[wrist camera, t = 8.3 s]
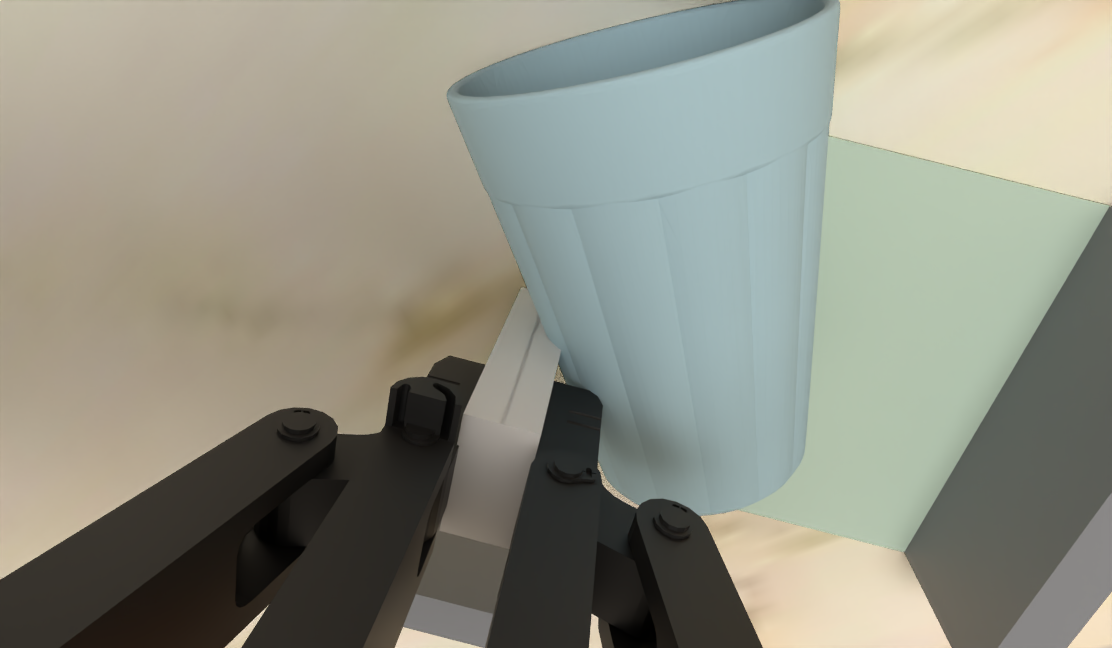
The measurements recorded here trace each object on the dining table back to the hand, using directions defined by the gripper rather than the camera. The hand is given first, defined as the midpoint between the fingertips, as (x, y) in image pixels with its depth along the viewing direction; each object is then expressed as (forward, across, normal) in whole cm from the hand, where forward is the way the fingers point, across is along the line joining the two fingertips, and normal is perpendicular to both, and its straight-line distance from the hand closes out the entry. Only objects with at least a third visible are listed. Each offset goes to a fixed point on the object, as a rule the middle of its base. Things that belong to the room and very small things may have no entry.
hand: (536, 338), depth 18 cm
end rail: (+2, +14, +1) cm, 14 cm away
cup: (-1, +1, -2) cm, 3 cm away
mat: (+2, +9, +1) cm, 9 cm away
